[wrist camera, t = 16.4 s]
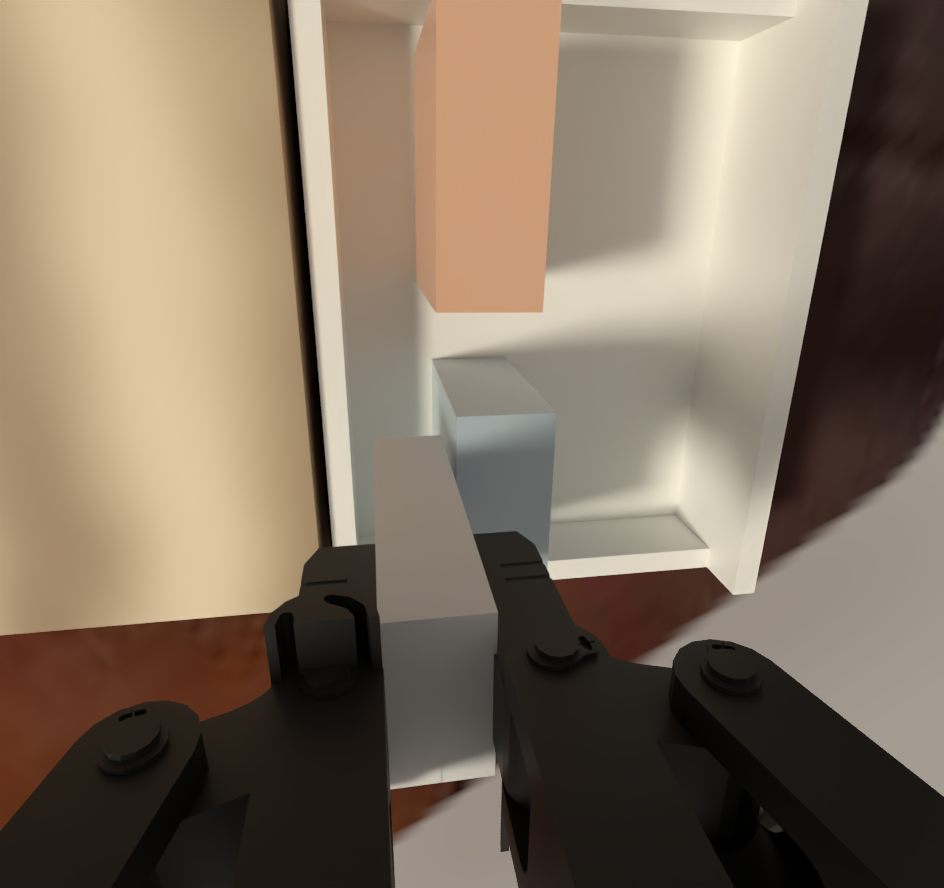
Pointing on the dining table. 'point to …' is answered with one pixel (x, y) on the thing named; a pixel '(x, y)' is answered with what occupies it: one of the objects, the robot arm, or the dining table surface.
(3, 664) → the dining table surface
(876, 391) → the dining table surface
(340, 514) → the tray
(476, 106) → the tile terracotta
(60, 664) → the dining table surface
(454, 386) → the tile slate
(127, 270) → the beige flat block
